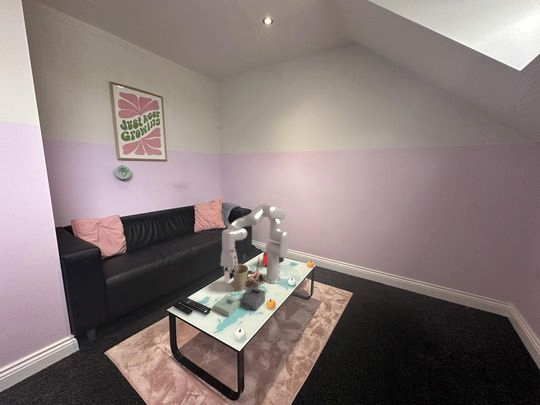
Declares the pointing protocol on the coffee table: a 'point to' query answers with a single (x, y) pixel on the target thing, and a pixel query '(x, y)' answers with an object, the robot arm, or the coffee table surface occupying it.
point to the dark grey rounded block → (253, 298)
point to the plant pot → (240, 277)
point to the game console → (266, 259)
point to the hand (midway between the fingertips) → (229, 276)
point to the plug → (228, 276)
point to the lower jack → (227, 305)
